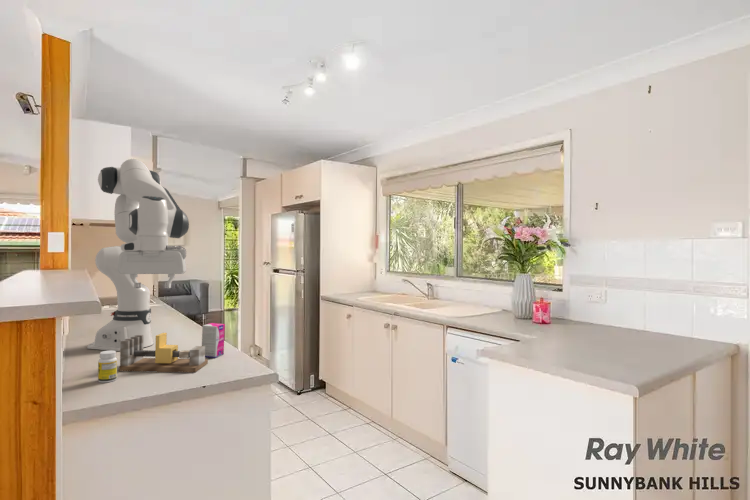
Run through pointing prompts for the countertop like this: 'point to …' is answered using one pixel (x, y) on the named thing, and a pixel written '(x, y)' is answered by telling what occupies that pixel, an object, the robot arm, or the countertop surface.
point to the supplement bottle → (107, 367)
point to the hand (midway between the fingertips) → (152, 288)
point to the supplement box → (213, 339)
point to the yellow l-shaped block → (164, 350)
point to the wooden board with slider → (135, 362)
